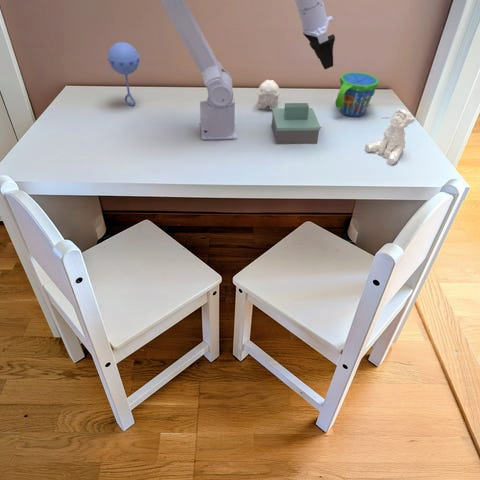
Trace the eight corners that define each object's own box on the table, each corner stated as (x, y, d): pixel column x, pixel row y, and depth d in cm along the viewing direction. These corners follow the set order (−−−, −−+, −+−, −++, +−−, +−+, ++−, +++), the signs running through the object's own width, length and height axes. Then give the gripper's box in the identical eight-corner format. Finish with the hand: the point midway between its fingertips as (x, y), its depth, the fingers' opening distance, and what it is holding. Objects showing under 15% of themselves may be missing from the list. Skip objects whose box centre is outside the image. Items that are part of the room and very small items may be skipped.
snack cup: (357, 100, 129) (365, 67, 122) (383, 112, 123) (392, 79, 116) (321, 111, 123) (326, 77, 116) (345, 125, 116) (353, 90, 109)
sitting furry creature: (362, 150, 106) (373, 106, 98) (383, 141, 110) (396, 98, 102) (391, 166, 101) (405, 121, 93) (412, 156, 105) (428, 112, 96)
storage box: (276, 144, 108) (277, 130, 105) (271, 124, 116) (272, 111, 113) (317, 143, 108) (319, 129, 106) (309, 124, 117) (311, 111, 114)
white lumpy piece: (258, 82, 116) (261, 71, 126) (256, 112, 121) (259, 99, 131) (280, 84, 116) (281, 72, 125) (277, 113, 121) (278, 100, 130)
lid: (276, 132, 105) (278, 115, 102) (271, 113, 114) (272, 96, 110) (319, 132, 106) (322, 114, 103) (311, 112, 114) (314, 95, 111)
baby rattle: (152, 103, 125) (143, 41, 112) (132, 114, 119) (121, 50, 107) (131, 97, 128) (120, 36, 116) (111, 107, 123) (98, 44, 110)
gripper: (334, 4, 85) (348, 65, 93) (320, -11, 96) (334, 45, 104) (302, 19, 86) (319, 77, 95) (292, 3, 97) (308, 57, 106)
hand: (325, 61), depth 100 cm, fingers open, 7 cm apart
